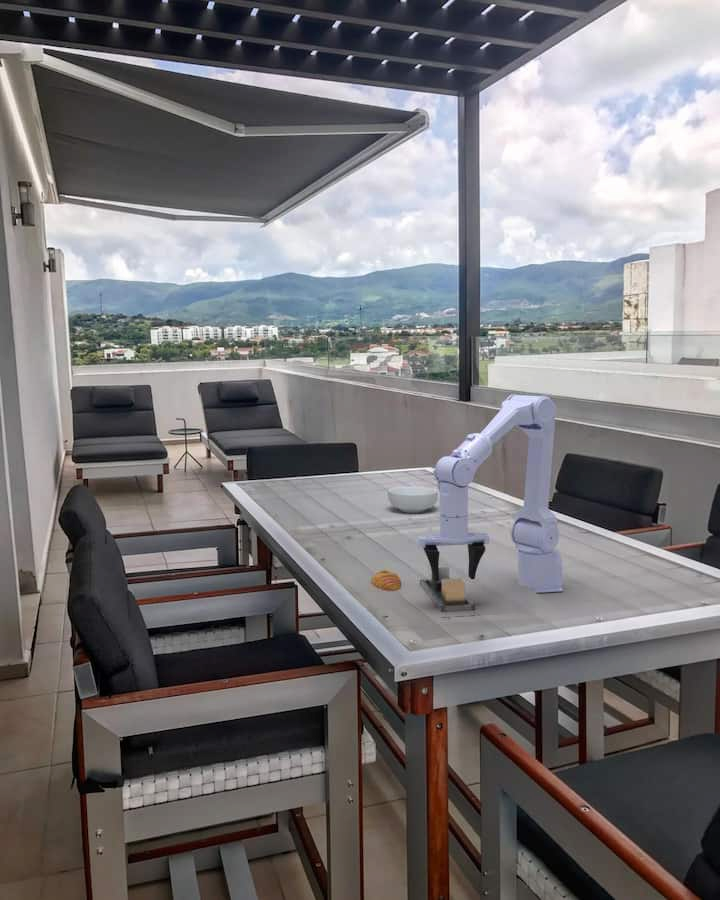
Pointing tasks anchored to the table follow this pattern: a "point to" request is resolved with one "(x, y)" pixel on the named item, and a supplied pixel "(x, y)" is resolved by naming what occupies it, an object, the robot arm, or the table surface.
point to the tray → (438, 601)
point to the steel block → (442, 575)
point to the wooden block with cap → (453, 592)
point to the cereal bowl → (412, 498)
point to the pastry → (386, 581)
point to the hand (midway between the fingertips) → (453, 579)
